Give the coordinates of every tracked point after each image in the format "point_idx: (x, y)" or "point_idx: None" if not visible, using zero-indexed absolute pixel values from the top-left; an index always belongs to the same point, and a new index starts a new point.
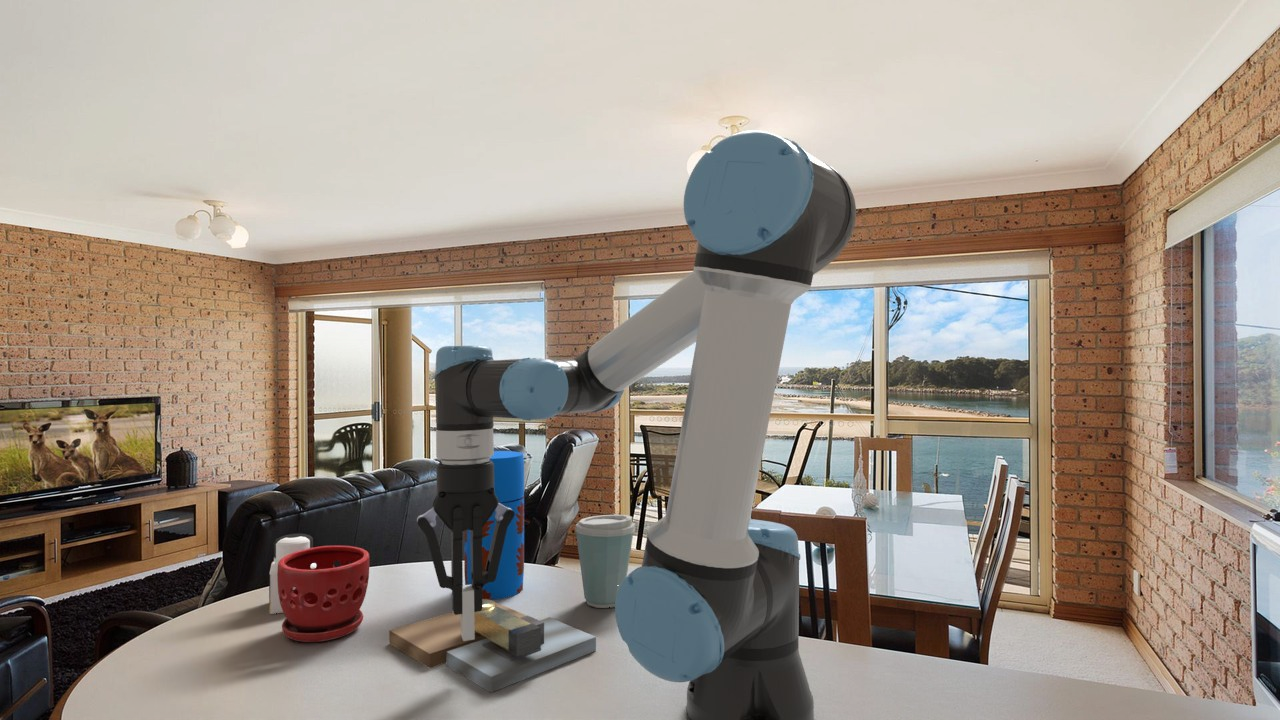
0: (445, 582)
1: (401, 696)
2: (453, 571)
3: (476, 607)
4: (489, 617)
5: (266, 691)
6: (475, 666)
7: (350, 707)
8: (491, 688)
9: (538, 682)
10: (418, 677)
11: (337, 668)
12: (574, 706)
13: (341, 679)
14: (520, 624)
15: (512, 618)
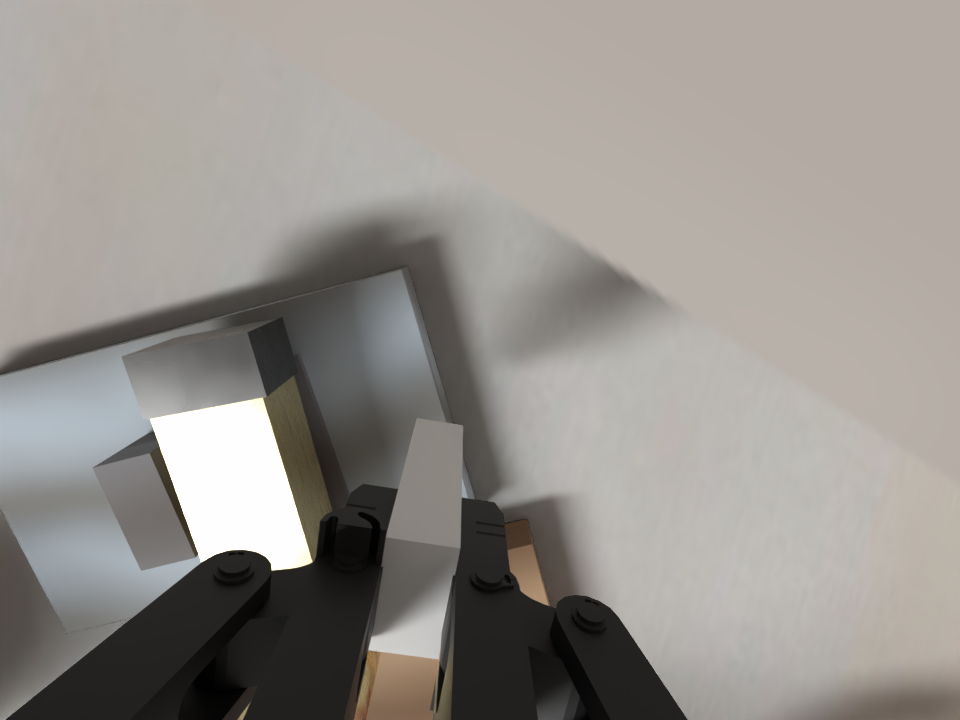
0: (582, 616)
1: (651, 384)
2: (530, 676)
3: (382, 498)
4: None
5: (942, 593)
6: (426, 377)
7: (790, 391)
8: (405, 267)
9: (247, 255)
10: (572, 478)
11: (750, 640)
12: (186, 20)
13: (761, 570)
14: (198, 438)
15: (213, 517)
